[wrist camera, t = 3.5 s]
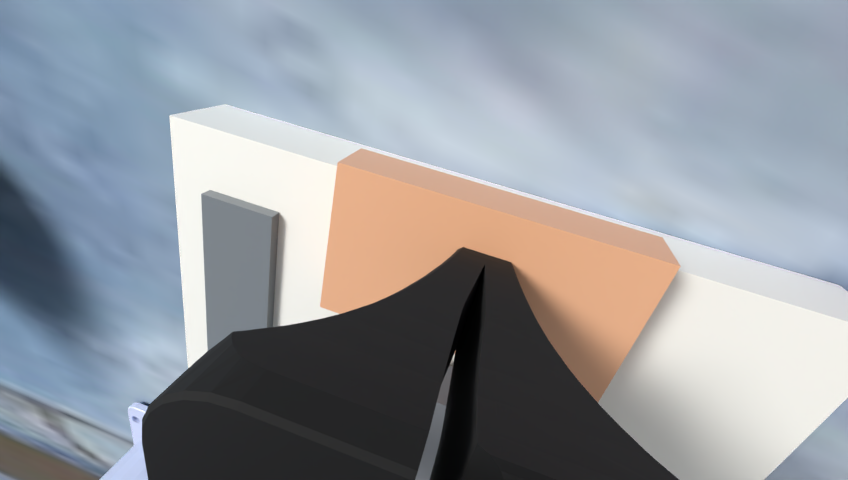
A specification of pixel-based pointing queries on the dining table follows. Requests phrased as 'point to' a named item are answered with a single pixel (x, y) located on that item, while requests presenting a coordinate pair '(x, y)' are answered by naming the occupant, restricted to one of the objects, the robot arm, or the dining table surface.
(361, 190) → the key terracotta
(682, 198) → the dining table surface
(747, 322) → the white flat slab
